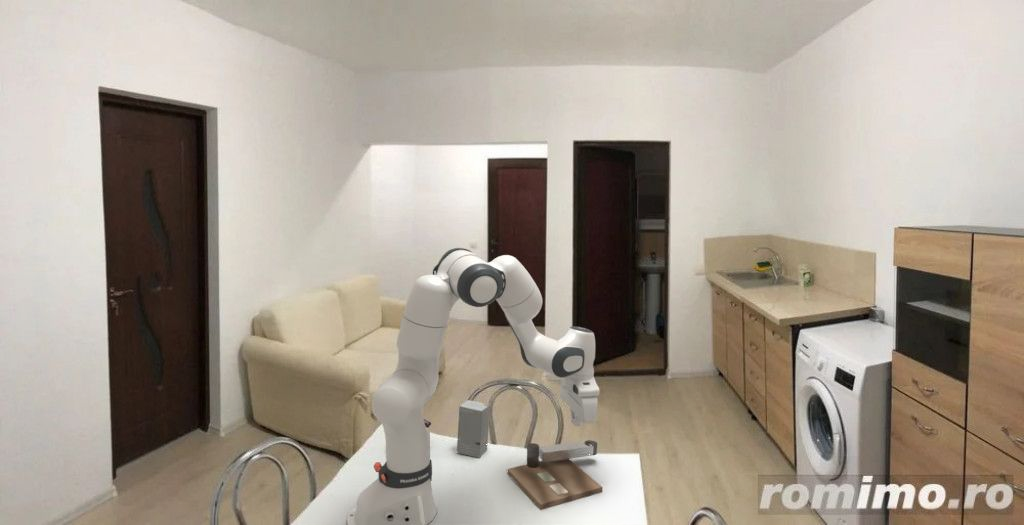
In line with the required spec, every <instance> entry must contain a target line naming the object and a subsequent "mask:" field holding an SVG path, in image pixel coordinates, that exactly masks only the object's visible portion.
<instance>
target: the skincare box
mask: <svg viewBox="0 0 1024 525" xmlns="http://www.w3.org/2000/svg"><path fill="white" fill-rule="evenodd" d="M490 407H491V405H490V404H487V403H483V402H481V401H475V400H471V399H470V400H469V399H466V401H464V402H463V403H462V404H460V405H459V411H458V424H457V425H458V427H457V429H458V430H457V441H456V442H457V443H456V453H457V454H459V455H463V456H464V455H466V456H470V457H473V458H478V459H480V458H481V457H482V456H483V455H484V454H485V453H486V451H487V450H488V443H489V442H488V439H489V424H490V410H491V408H490ZM486 444H487V445H486Z"/></svg>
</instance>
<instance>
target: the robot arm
mask: <svg viewBox="0 0 1024 525" xmlns="http://www.w3.org/2000/svg"><path fill="white" fill-rule="evenodd" d="M459 299H460V300H461V301H462V302H463V303H464V304H466V305H468V306H471V307H475V308H482V307H486V306H488V305H490V304H492V303H493V302H495V301H496V302H497V304H498V305H499V307H500V308H501V310H502V311H503V313H504V317H505V318H506V321H507V323H508V324H509V327H510V328H511V331H512V332H513V334H514V336H515V338H516V340H517V342H518V344H519V349H520V355H521V358H522V360H523V361H524V363H525V364H526V365H527V366H529V367H533V368H535V369H537V370H540V371H543V372H545V373H547V374H550V375H552V376H555V377H557V378H561V382H560V390H559V396H560V398H561V400H562V401H563V402H564V403H565V404H566V405H567V406H568V408H569V411H570V416H571V419H570V420H571V423H572V424H573V425H574V426H575V427H581V422H582V423H584V424H592V423H594V422H596V420H597V415H598V414H597V413H598V404H599V402H598V397H597V396H600V393H601V392H600V387H599V385H598V383H597V381H596V379H595V377H594V375H595V368H594V362H595V359H596V338H595V333H594V332H593V331H592V330H591V329H589V328H585V327H581V326H577V325H575V326H569V327H568V330H567V332H566V333H565V335H563V336H562V337H561V338H560V339H558V340H557V339H554V338H552V337H548V336H547V335H545V334H543V333H540V332H539V331H538V330H537V328H536V326H535V324H534V322H533V319H534V318H536V316H538V314H539V313H540V311H541V309H542V306H543V297H542V294H541V291H540V289H539V287H538V285H537V283H536V281H535V280H534V279H533V277H532V276H531V274H530V272H528V270H527V269H526V268H525V266H524V265H523V264H522V262H520V261H519V260H518V259H517V257H514V256H513V255H509V254H503V255H500V256H499V255H498V256H497V257H496V258H493V260H492V259H491V261H489V262H487V261H486V260H485V259H483V258H482V257H480V256H479V255H478V254H476V253H474V252H472V251H471V250H470V249H467V248H462V247H454V248H451V249H449V250H447V251H446V252H445V253H444V254H443V255H442V256H441V258H440V260H439V261H438V263H437V264H436V265H435V266H434V267H433V269H432V274H426V275H422V276H420V277H418V278H417V279H416V280H415V282H414V284H413V286H412V288H411V290H410V293H409V295H408V297H407V301H406V304H405V307H404V310H403V314H402V318H401V321H400V322H401V323H400V325H399V332H398V333H397V334H398V335H397V337H396V338H397V339H396V348H397V349H398V357H397V358H398V360H397V361H398V362H397V366H396V368H395V370H394V372H393V373H392V375H390V376H389V377H388V378H387V379H385V381H383V382H382V383H381V384H380V385H379V387H378V389H377V390H376V391H375V393H374V396H373V398H372V400H371V410H372V413H373V415H374V417H375V418H376V419H377V420H378V421H379V422H380V423H381V425H382V427H383V431H384V435H385V436H384V437H385V462H384V464H383V465H382V463H381V462H380V461H377V462H375V463H374V464H373V470H374V471H375V472H376V473H377V474H378V476H377V477H378V478H377V479H375V480H374V481H373V482H372V483H371V484H369V485H368V486H367V487H366V488H365V489H363V490H362V491H361V492H360V493H359V495H358V498H357V501H356V506H355V507H352V508H351V509H350V510H349V511H348V514H347V516H346V525H429V523H431V522H432V521H433V520H434V519H435V517H436V515H437V511H438V509H437V506H436V504H435V499H434V494H433V489H432V480H433V479H432V478H433V464H432V463H433V462H432V459H431V434H430V432H431V431H430V430H429V429H428V428H427V427H425V423H424V420H425V418H424V407H425V405H426V403H427V402H428V400H429V399H431V397H433V395H434V393H435V391H436V390H437V386H438V383H439V370H440V369H439V368H440V367H439V366H440V356H441V350H442V347H443V342H444V339H445V335H446V331H447V328H448V325H449V319H450V313H451V311H452V309H453V307H454V305H455V304H456V303H457V301H459Z"/></svg>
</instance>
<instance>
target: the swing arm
mask: <svg viewBox="0 0 1024 525" xmlns="http://www.w3.org/2000/svg"><path fill="white" fill-rule="evenodd" d="M589 454H590V455H589ZM596 455H598V442H597V441H595V440H588V439H587V440H581V441H574V442H567V443H566V442H565V443H557V444H551V445H550V444H549V445H542V446H541V445H540V446H539V459H541V460H540V461H543V462H549V461H556V460H564V459H570V460H571V459H577V458H586V457H592V456H596Z"/></svg>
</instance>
